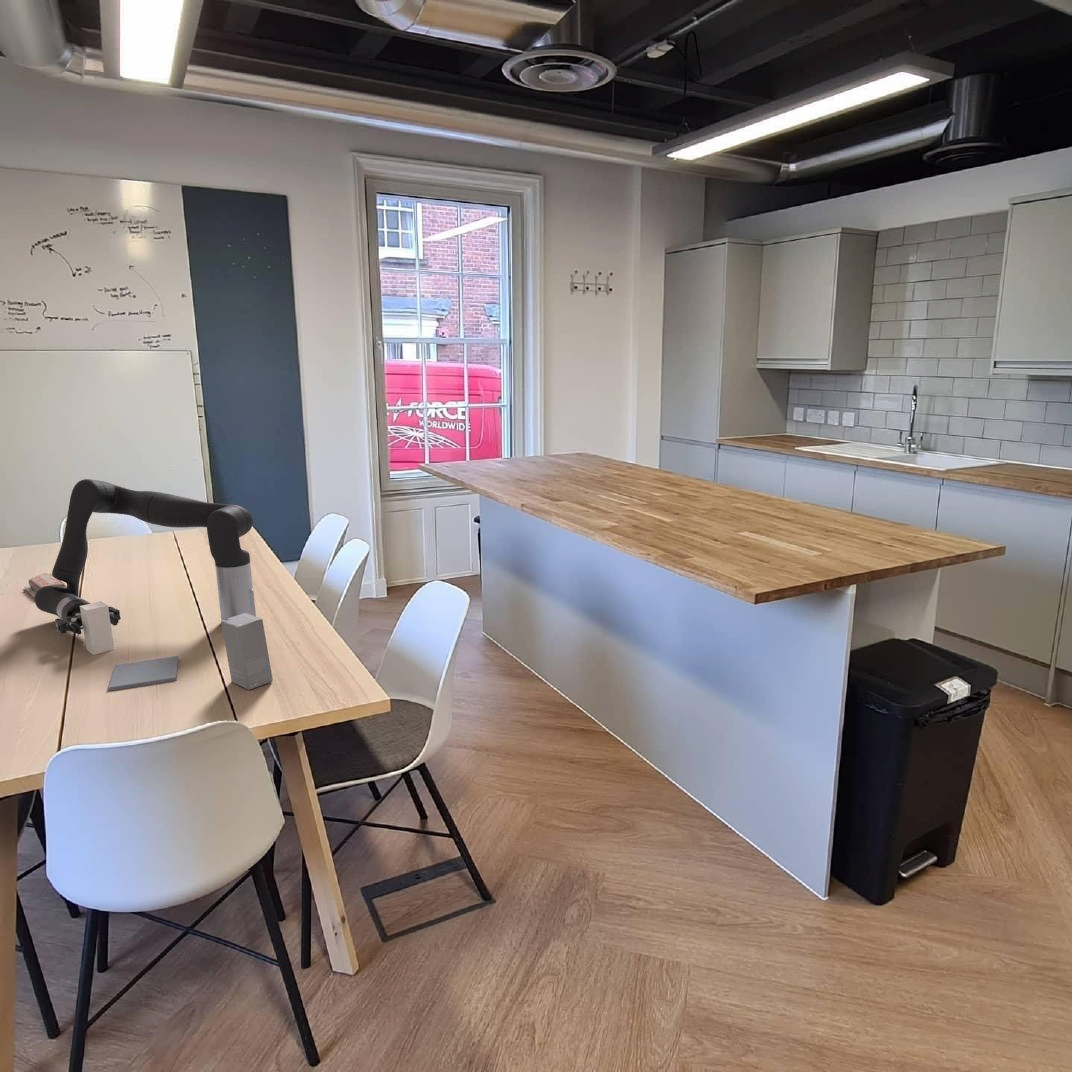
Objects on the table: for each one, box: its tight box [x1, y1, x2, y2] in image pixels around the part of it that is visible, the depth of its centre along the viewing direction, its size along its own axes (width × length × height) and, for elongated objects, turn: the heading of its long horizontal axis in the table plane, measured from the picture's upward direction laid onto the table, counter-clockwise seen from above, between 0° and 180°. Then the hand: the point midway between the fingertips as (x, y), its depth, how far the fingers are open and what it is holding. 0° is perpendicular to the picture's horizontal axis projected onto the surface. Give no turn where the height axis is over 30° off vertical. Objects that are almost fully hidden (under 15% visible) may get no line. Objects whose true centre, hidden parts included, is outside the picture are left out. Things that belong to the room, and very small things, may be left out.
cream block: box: [80, 600, 115, 656], centre depth 197 cm, size 5×5×12 cm
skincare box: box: [220, 613, 274, 691], centre depth 176 cm, size 8×7×16 cm
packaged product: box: [23, 572, 67, 598], centre depth 246 cm, size 18×5×10 cm
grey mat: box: [108, 655, 180, 692], centre depth 183 cm, size 14×14×1 cm
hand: (97, 626), depth 196 cm, fingers open, 8 cm apart
